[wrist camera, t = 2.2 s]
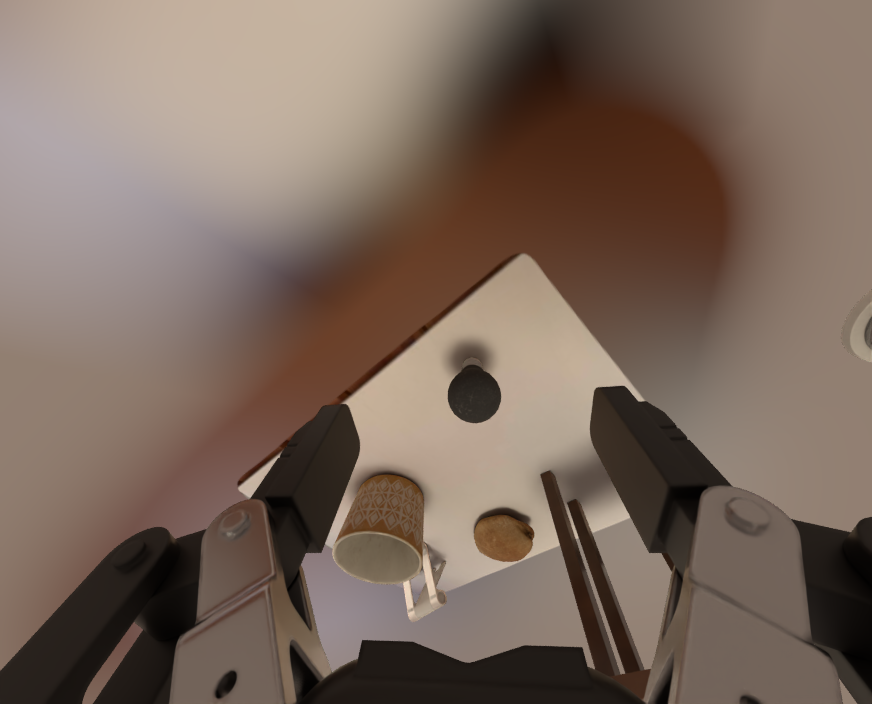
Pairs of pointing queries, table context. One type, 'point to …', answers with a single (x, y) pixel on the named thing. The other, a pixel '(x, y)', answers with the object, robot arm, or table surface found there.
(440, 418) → the table surface
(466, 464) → the table surface
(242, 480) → the table surface
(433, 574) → the tablet stand
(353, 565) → the planter
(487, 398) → the light bulb
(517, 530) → the stone
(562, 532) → the walnut stand
